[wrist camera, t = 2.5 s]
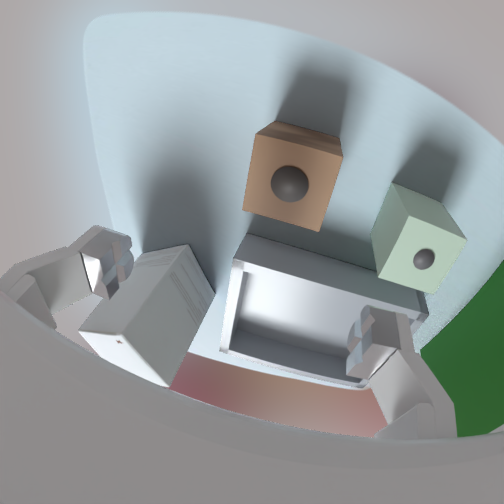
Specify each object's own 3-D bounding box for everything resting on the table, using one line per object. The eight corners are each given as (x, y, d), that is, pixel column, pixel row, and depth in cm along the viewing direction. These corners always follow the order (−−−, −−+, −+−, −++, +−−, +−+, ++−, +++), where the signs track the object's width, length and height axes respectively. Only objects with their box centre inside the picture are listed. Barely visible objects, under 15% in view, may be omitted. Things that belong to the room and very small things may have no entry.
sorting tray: (421, 285, 24) (429, 314, 20) (363, 362, 32) (362, 388, 29) (246, 233, 26) (233, 258, 22) (229, 326, 34) (219, 351, 31)
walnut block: (339, 138, 19) (343, 157, 14) (322, 195, 22) (318, 233, 17) (274, 120, 19) (255, 134, 15) (263, 178, 22) (241, 210, 18)
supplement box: (140, 252, 31) (74, 328, 21) (190, 242, 28) (121, 334, 18) (168, 299, 34) (118, 377, 24) (217, 296, 32) (170, 390, 21)
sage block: (441, 202, 19) (467, 241, 14) (417, 249, 22) (433, 295, 17) (391, 181, 19) (409, 216, 15) (369, 233, 22) (377, 278, 18)
